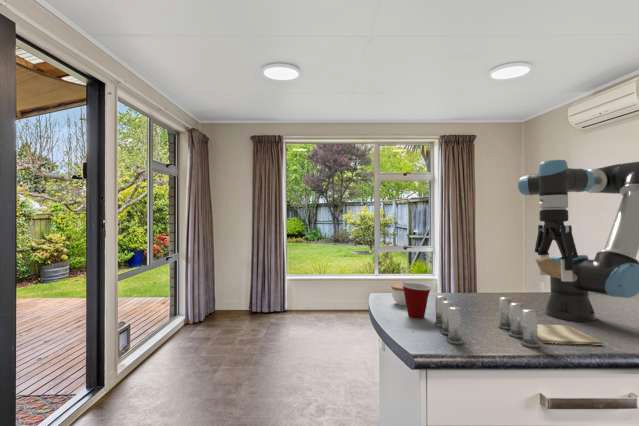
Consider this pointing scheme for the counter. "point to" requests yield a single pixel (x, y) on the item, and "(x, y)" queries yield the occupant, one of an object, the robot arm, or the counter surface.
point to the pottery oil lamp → (551, 267)
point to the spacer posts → (511, 319)
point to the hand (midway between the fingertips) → (554, 277)
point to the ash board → (563, 335)
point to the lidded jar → (398, 294)
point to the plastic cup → (416, 299)
